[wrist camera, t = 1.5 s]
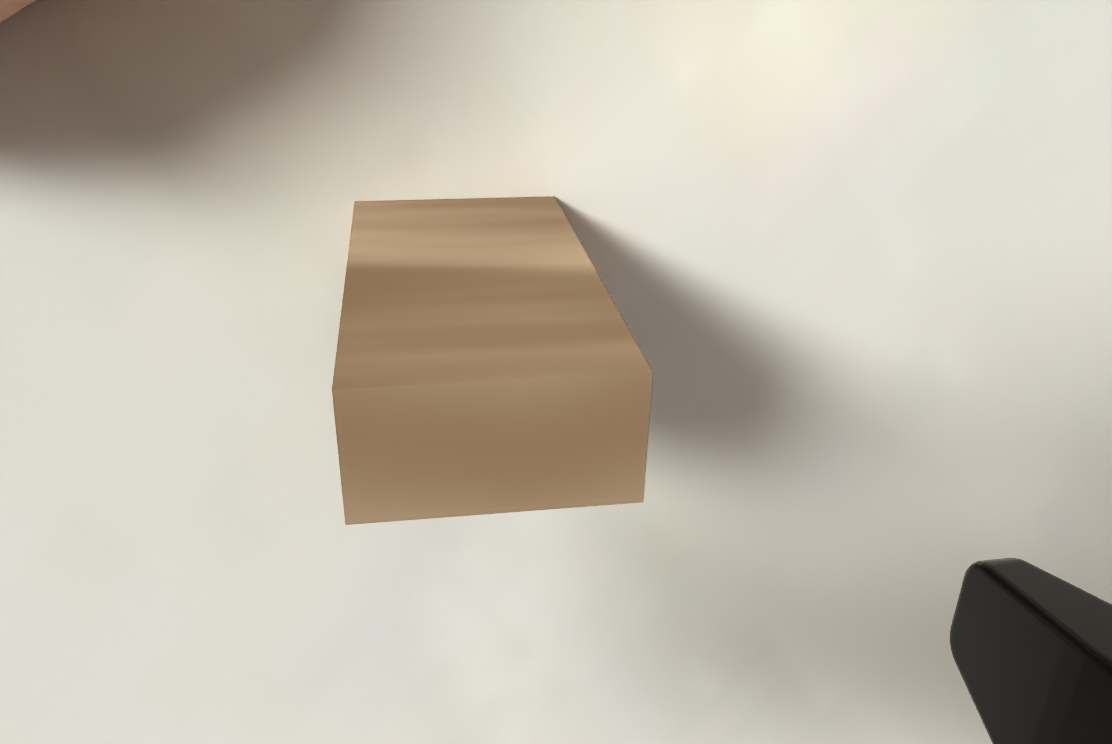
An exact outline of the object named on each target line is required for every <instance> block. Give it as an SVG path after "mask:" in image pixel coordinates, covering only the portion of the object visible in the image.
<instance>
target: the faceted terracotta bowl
mask: <svg viewBox="0 0 1112 744" xmlns="http://www.w3.org/2000/svg"><path fill="white" fill-rule="evenodd" d="M34 1H36V0H0V23H1V22H3V21H4V20H6V19H7V18H9V17H10V16H12V15H13V14H15V13H16V12H18V11H19V10H21V9H22V8H24V7H25V6H27V5H29V4H31V3H33V2H34Z"/></svg>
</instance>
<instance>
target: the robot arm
mask: <svg viewBox="0 0 1112 744" xmlns="http://www.w3.org/2000/svg"><path fill="white" fill-rule="evenodd" d="M950 644H951V650H952V654H953V657H954V660H955V662H956V664H957V667H958V669H959V671H960V673H961V675H962V678H963V680H964V682H965V684H966V686H967V688H968V691H969V693H970V695H971V697H972V699H973V702H974V704H975V706H976V708H977V710H978V712H979V715H980V717H981V719H982V721H983V723H984V725H985V728H986V730H987V732H988V734H989V736H990V739H991V741H992V743H993V744H1112V605H1111V604H1109V603H1107V602H1105V601H1103V600H1101V599H1099V598H1097V597H1095V596H1093V595H1091V594H1089V593H1087V592H1085V591H1083V590H1081V589H1079V588H1077V587H1075V586H1074V585H1072V584H1070V583H1068V582H1066V581H1064V580H1062V579H1060V578H1058V577H1056V576H1054V575H1052V574H1050V573H1048V572H1046V571H1044V570H1042V569H1040V568H1038V567H1036V566H1034V565H1032V564H1030V563H1028V562H1026V561H1023V560H1021V559H1016V558H1005V559H995V560H985V561H978V562H975V563H973V564H972V565H971V566H970V567H969V568H968V569H967V571H966V573H965V576H964V580H963V583H962V587H961V591H960V595H959V599H958V602H957V606H956V610H955V614H954V618H953V621H952V625H951V630H950Z"/></svg>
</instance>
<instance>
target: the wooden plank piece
mask: <svg viewBox="0 0 1112 744" xmlns="http://www.w3.org/2000/svg"><path fill="white" fill-rule="evenodd" d="M652 378H653V371H652V369H651V368H650V366H649V364H648V362H647V360H646V359H645V357H644V355H643V353H642V352H641V350H640V348H639V346H638V344H637V343H636V341H635V339H634V337H633V335H632V334H631V332H630V330H629V328H628V326H627V325H626V323H625V321H624V319H623V318H622V316H621V314H620V312H619V310H618V309H617V307H616V305H615V303H614V301H613V300H612V298H611V296H610V294H609V293H608V291H607V289H606V287H605V285H604V284H603V282H602V280H601V278H600V276H599V275H598V273H597V271H596V269H595V267H594V266H593V264H592V262H591V260H590V259H589V257H588V255H587V253H586V251H585V250H584V248H583V246H582V244H581V242H580V241H579V239H578V237H577V235H576V234H575V232H574V230H573V228H572V226H571V225H570V223H569V221H568V219H567V217H566V216H565V214H564V212H563V210H562V208H561V207H560V205H559V203H558V201H557V200H556V198H555V197H517V198H477V199H437V200H398V201H358V202H355V203H354V211H353V219H352V227H351V236H350V244H349V252H348V261H347V269H346V277H345V286H344V294H343V302H342V311H341V319H340V327H339V336H338V344H337V352H336V361H335V369H334V377H333V385H332V395H333V404H334V414H335V424H336V434H337V444H338V454H339V464H340V474H341V484H342V494H343V504H344V514H345V524H346V525H350V524H363V523H376V522H389V521H402V520H415V519H428V518H442V517H455V516H468V515H481V514H494V513H507V512H520V511H533V510H546V509H559V508H573V507H586V506H599V505H612V504H625V503H638V502H643V498H644V484H645V471H646V458H647V445H648V431H649V418H650V405H651V391H652Z"/></svg>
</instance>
